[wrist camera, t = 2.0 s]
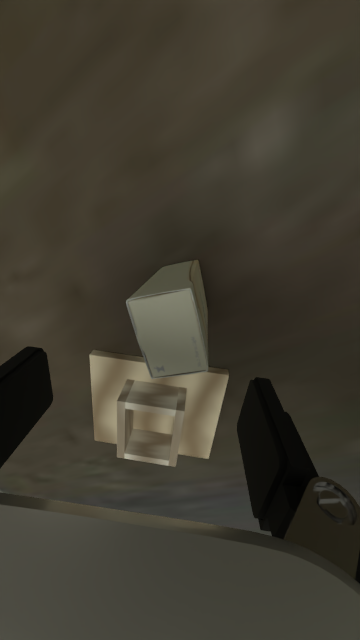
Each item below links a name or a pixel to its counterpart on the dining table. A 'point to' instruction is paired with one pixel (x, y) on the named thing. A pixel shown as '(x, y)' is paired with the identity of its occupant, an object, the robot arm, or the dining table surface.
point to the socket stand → (154, 409)
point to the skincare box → (172, 321)
